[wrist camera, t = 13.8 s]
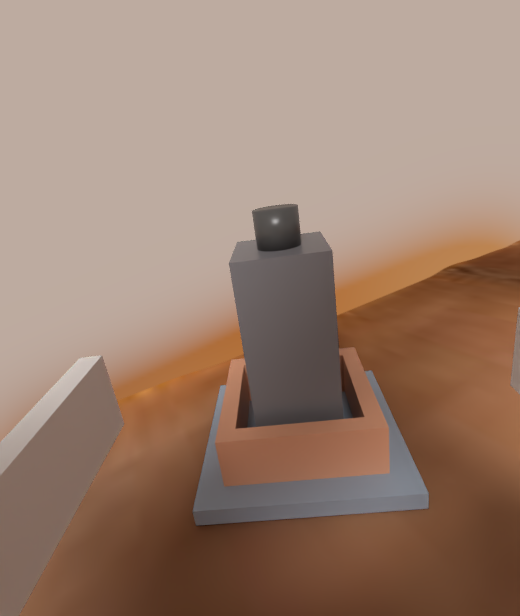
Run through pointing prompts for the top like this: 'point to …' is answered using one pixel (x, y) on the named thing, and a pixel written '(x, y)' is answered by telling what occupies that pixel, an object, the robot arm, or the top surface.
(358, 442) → the end holder
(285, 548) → the top surface
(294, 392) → the bottle
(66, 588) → the top surface
